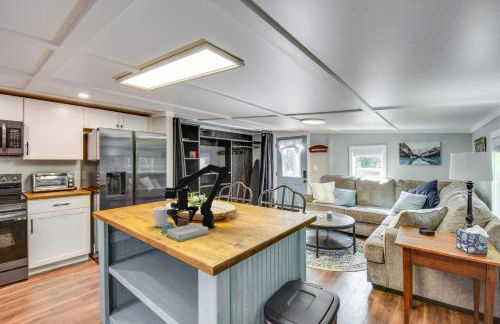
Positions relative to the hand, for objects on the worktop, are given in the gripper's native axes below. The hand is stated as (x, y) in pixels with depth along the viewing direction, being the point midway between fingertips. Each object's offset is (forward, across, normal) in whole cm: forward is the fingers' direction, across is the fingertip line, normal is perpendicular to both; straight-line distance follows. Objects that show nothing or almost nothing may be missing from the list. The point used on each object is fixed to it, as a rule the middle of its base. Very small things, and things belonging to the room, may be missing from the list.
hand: (183, 224), depth 151 cm
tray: (+2, +5, +13) cm, 14 cm away
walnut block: (+2, 0, 0) cm, 3 cm away
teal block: (+2, +10, 0) cm, 10 cm away
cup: (+3, +6, -15) cm, 16 cm away
